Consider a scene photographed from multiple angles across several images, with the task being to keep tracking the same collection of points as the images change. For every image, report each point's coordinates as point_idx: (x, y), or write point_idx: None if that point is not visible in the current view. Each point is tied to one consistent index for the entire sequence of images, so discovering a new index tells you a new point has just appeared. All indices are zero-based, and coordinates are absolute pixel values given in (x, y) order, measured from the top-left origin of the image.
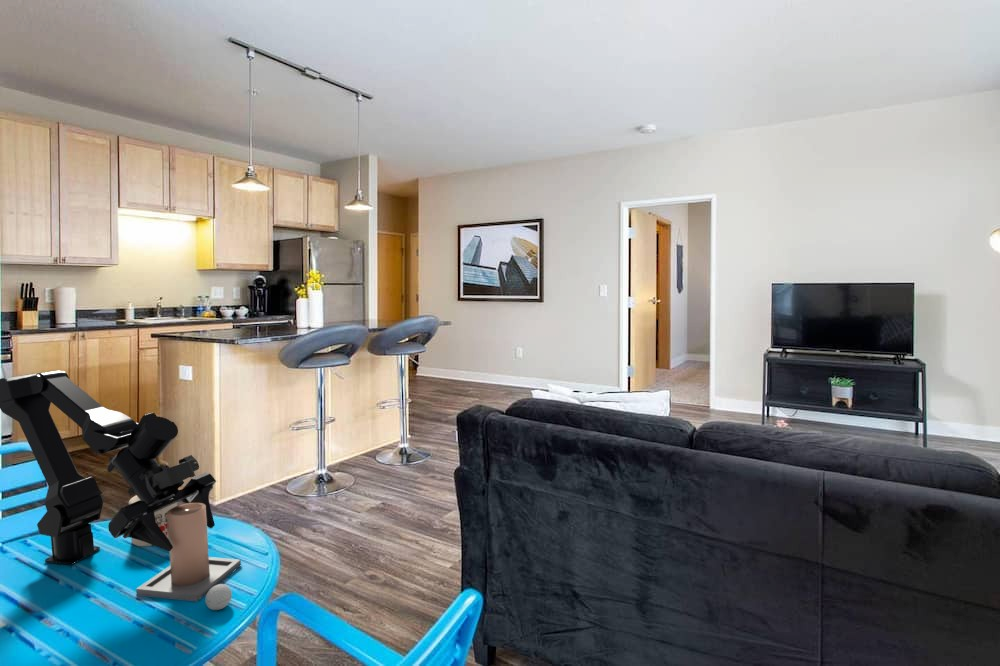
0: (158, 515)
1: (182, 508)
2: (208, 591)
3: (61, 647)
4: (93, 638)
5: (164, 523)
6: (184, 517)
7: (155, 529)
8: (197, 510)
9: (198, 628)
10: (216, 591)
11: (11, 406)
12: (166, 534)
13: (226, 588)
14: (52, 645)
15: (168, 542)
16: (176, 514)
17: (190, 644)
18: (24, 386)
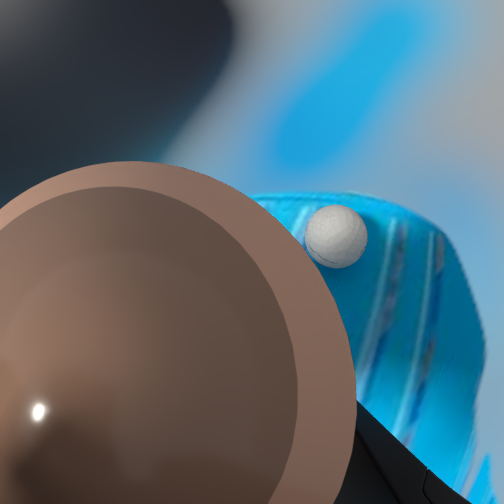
0: None
1: (26, 442)
2: (356, 242)
3: (486, 476)
4: (465, 448)
5: None
6: (303, 269)
7: (440, 500)
8: (126, 192)
9: (397, 257)
10: (358, 217)
11: None
12: None
13: (335, 205)
14: (481, 497)
15: (361, 414)
16: (266, 430)
17: (430, 245)
18: None
